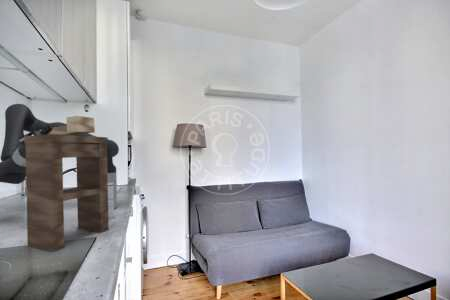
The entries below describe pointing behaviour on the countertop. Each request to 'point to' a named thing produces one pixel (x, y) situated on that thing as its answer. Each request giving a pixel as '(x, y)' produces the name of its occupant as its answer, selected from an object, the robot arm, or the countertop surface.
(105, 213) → the shelf
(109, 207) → the syrup box
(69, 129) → the mallet
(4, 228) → the countertop surface
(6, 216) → the countertop surface
